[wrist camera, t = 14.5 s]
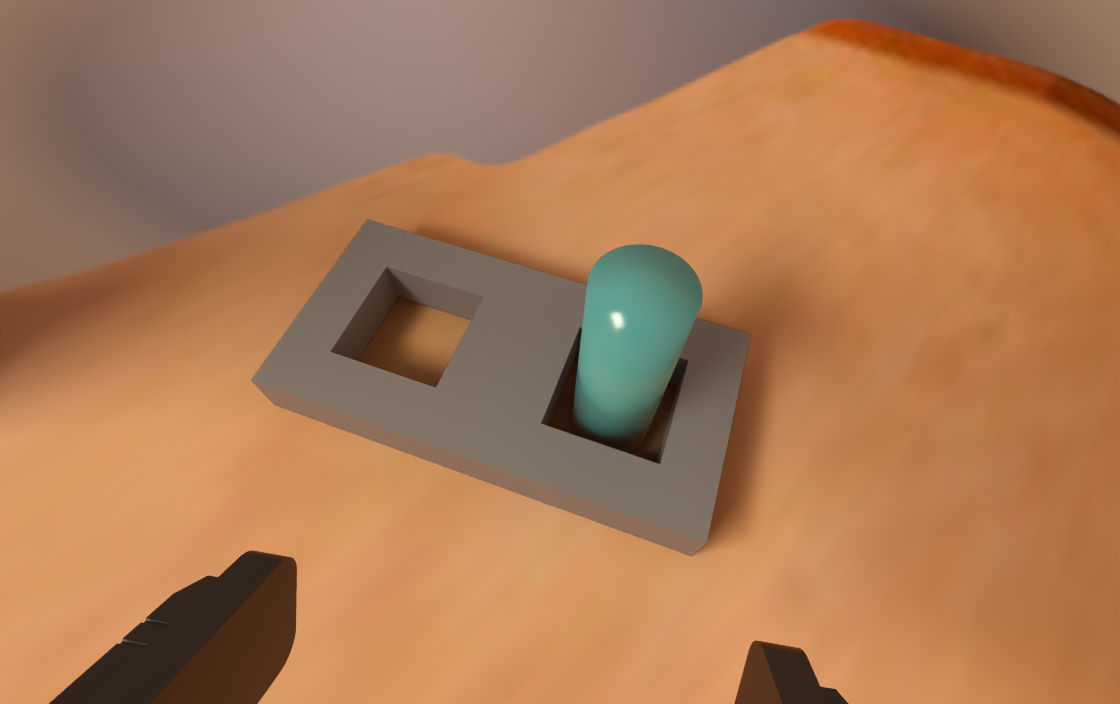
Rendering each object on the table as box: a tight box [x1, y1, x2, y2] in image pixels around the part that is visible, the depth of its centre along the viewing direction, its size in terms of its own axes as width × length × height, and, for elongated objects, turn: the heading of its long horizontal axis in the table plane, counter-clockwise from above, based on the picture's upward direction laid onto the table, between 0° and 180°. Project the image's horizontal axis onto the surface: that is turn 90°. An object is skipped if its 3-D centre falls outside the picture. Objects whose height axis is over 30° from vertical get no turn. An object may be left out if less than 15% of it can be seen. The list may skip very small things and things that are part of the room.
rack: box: [251, 219, 751, 556], centre depth 31 cm, size 24×12×3 cm, turn 70°
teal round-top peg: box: [572, 245, 702, 452], centre depth 26 cm, size 4×4×12 cm
